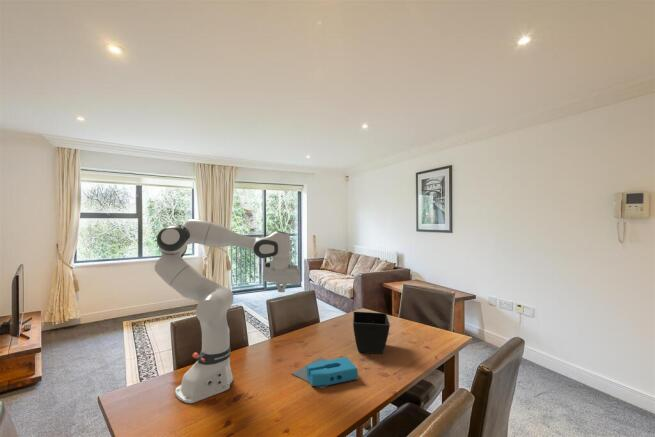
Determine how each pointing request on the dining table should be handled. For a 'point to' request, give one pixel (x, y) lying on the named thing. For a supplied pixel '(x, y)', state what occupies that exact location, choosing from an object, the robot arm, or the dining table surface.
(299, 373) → the charcoal mat
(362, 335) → the flower pot
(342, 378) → the block
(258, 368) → the dining table surface
